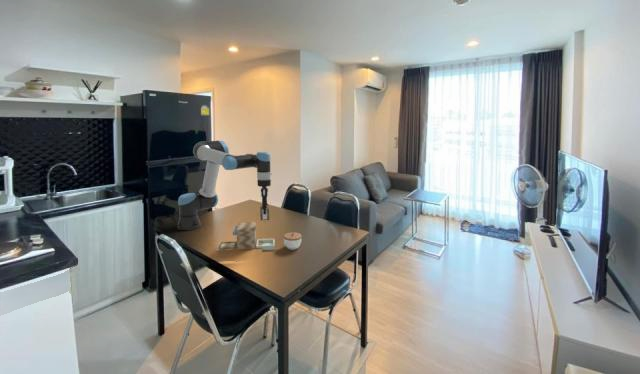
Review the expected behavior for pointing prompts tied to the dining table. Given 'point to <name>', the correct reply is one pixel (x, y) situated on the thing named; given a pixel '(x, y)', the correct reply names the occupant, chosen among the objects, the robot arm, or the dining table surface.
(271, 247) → the tray
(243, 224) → the brown patterned stepped stand
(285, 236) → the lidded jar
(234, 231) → the slide cover
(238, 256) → the dining table surface
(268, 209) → the treat block
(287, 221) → the dining table surface
